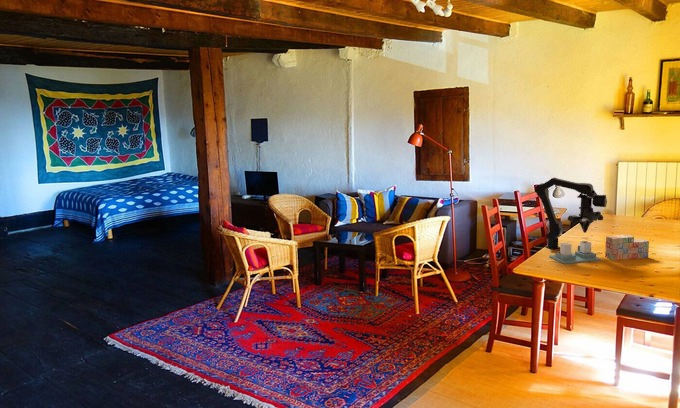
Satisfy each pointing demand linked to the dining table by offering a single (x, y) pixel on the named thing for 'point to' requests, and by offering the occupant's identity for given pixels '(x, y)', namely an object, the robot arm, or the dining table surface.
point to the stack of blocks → (626, 247)
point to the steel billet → (585, 247)
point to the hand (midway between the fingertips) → (584, 232)
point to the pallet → (572, 255)
